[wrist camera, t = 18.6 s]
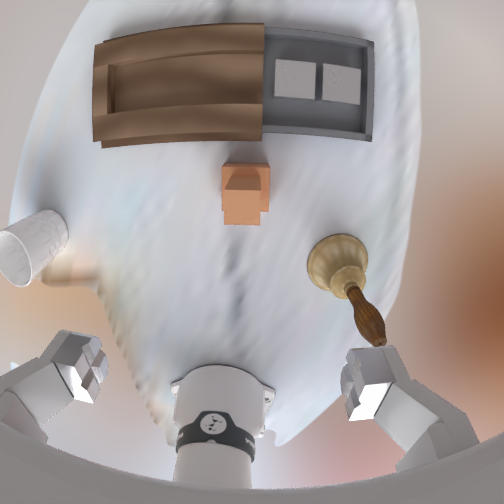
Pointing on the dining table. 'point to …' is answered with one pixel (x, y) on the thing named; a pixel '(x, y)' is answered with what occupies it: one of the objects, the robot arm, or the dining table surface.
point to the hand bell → (347, 281)
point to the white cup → (31, 246)
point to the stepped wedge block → (245, 192)
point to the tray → (312, 112)
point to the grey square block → (338, 85)
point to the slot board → (179, 85)
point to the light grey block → (294, 80)
